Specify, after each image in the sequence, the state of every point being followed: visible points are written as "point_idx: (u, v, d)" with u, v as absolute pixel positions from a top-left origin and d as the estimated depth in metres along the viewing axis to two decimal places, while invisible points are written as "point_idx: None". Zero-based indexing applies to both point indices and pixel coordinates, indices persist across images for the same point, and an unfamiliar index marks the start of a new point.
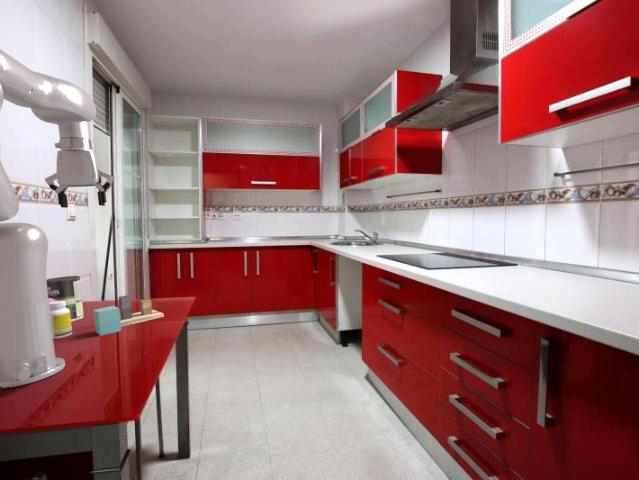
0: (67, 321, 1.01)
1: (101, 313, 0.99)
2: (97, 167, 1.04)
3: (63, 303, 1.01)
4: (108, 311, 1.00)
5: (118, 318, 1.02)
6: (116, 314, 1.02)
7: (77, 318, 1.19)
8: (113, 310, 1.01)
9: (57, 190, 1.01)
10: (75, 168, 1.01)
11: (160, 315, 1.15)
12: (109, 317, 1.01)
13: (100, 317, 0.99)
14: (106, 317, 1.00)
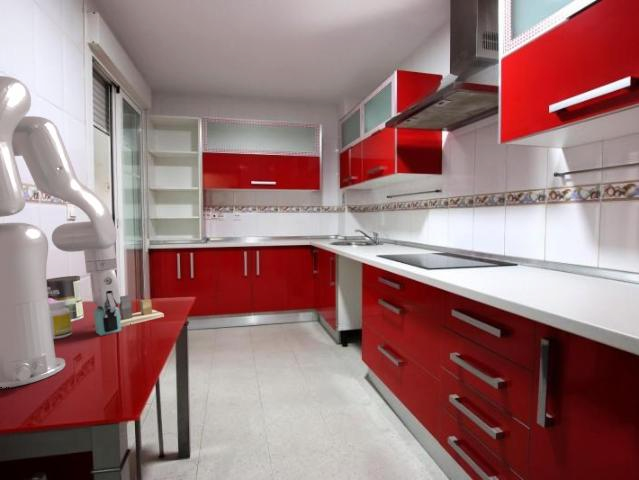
0: (67, 321, 1.01)
1: (101, 313, 0.99)
2: None
3: (63, 303, 1.01)
4: None
5: (118, 318, 1.02)
6: (116, 314, 1.02)
7: (77, 318, 1.19)
8: None
9: None
10: None
11: (160, 315, 1.15)
12: None
13: (100, 317, 0.99)
14: None
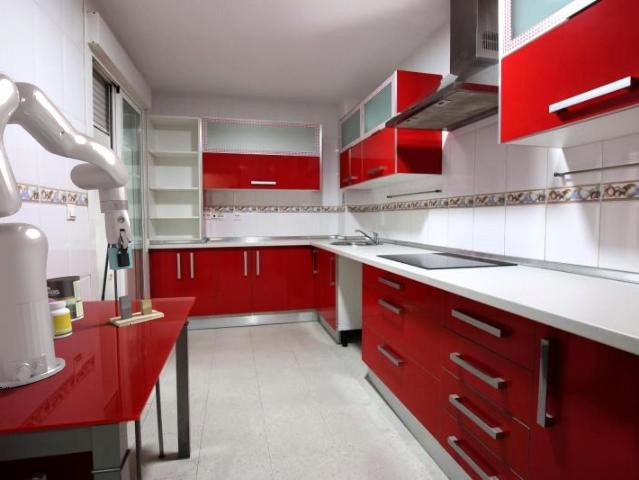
0: (67, 321, 1.01)
1: (115, 249, 1.08)
2: None
3: (63, 303, 1.01)
4: None
5: (130, 256, 1.11)
6: None
7: (77, 318, 1.19)
8: None
9: None
10: None
11: (160, 315, 1.15)
12: None
13: (114, 253, 1.08)
14: None
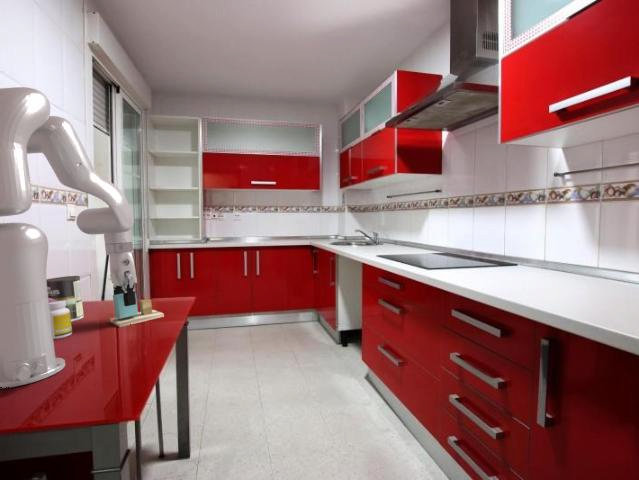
0: (67, 321, 1.01)
1: (120, 298, 1.09)
2: None
3: (63, 303, 1.01)
4: None
5: None
6: None
7: (77, 318, 1.19)
8: None
9: None
10: None
11: (160, 315, 1.15)
12: None
13: (119, 301, 1.09)
14: None
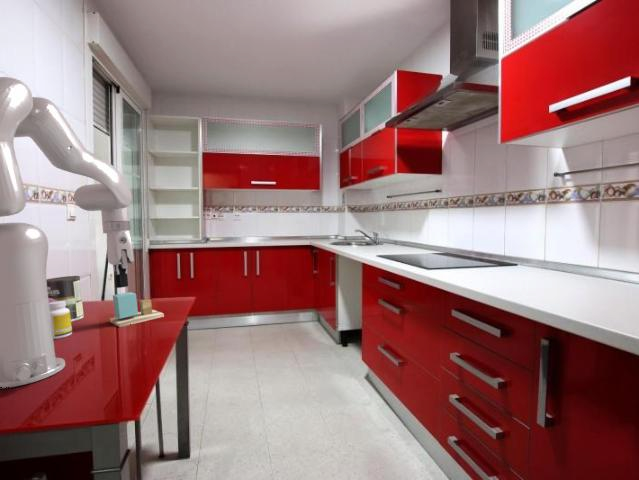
0: (67, 321, 1.01)
1: (120, 298, 1.09)
2: None
3: (63, 303, 1.01)
4: (126, 296, 1.10)
5: (135, 303, 1.12)
6: (133, 299, 1.12)
7: (77, 318, 1.19)
8: (131, 295, 1.11)
9: None
10: None
11: (160, 315, 1.15)
12: (127, 302, 1.10)
13: (119, 301, 1.09)
14: (125, 302, 1.10)
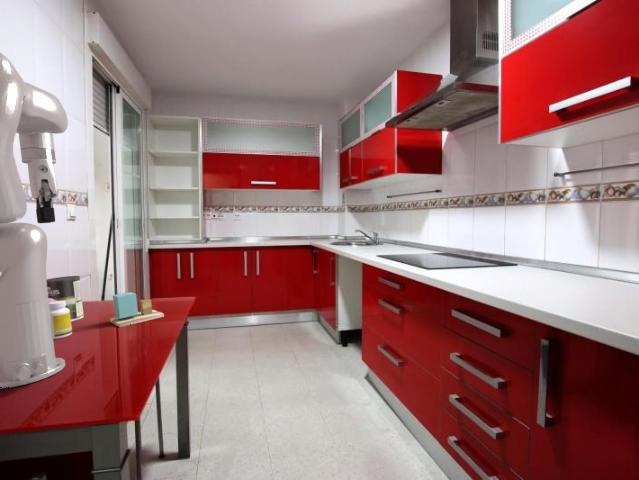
0: (67, 321, 1.01)
1: (120, 298, 1.09)
2: None
3: (63, 303, 1.01)
4: (126, 296, 1.10)
5: (135, 303, 1.12)
6: (133, 299, 1.12)
7: (77, 318, 1.19)
8: (131, 295, 1.11)
9: None
10: None
11: (160, 315, 1.15)
12: (127, 302, 1.10)
13: (119, 301, 1.09)
14: (125, 302, 1.10)
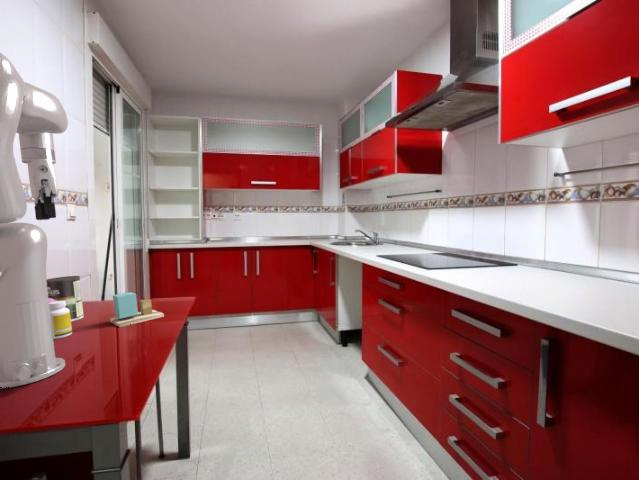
0: (67, 321, 1.01)
1: (120, 298, 1.09)
2: None
3: (63, 303, 1.01)
4: (126, 296, 1.10)
5: (135, 303, 1.12)
6: (133, 299, 1.12)
7: (77, 318, 1.19)
8: (131, 295, 1.11)
9: None
10: None
11: (160, 315, 1.15)
12: (127, 302, 1.10)
13: (119, 301, 1.09)
14: (125, 302, 1.10)
